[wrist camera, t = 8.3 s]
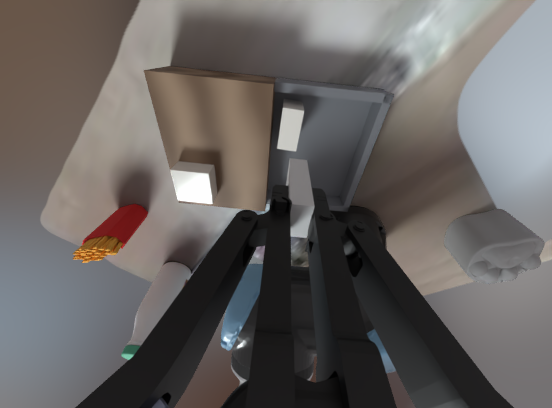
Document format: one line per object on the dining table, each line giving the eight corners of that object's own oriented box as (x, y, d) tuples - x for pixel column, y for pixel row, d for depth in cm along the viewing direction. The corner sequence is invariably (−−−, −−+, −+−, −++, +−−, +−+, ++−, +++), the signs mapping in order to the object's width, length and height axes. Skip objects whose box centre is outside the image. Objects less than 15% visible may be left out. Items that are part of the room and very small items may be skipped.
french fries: (125, 222, 45) (81, 269, 36) (111, 209, 43) (60, 255, 33) (156, 214, 43) (118, 262, 34) (143, 200, 41) (99, 247, 31)
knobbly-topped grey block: (513, 205, 37) (564, 241, 30) (495, 249, 44) (532, 287, 37) (447, 218, 40) (480, 254, 33) (440, 258, 47) (466, 294, 40)
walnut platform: (276, 77, 27) (273, 84, 22) (267, 190, 38) (264, 211, 33) (169, 66, 26) (143, 70, 22) (192, 182, 38) (178, 202, 33)
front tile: (283, 98, 27) (302, 101, 27) (278, 135, 30) (295, 137, 30) (282, 107, 23) (304, 110, 23) (277, 148, 26) (295, 151, 26)
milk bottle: (156, 264, 54) (102, 353, 39) (178, 258, 52) (130, 349, 36) (176, 279, 59) (135, 365, 43) (197, 274, 56) (161, 363, 40)
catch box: (381, 89, 27) (394, 94, 24) (342, 198, 38) (347, 211, 35) (276, 77, 27) (274, 81, 23) (267, 190, 38) (266, 203, 35)
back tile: (214, 164, 28) (208, 173, 26) (217, 194, 31) (212, 204, 29) (178, 161, 28) (169, 169, 26) (185, 190, 31) (178, 200, 29)
